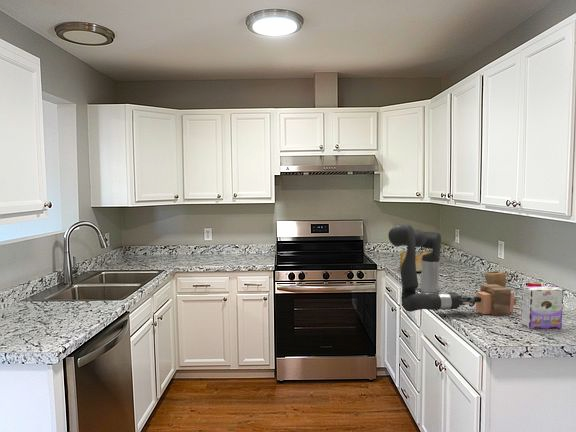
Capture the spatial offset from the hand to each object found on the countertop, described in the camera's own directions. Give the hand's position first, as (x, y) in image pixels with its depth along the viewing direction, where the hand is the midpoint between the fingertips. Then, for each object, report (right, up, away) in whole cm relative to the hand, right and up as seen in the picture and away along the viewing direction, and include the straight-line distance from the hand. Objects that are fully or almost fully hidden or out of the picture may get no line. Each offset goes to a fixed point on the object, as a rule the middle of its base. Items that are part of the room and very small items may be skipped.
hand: (479, 299), depth 181 cm
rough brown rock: (+1, -1, +93) cm, 93 cm away
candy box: (+18, -8, -16) cm, 25 cm away
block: (+8, -6, +2) cm, 10 cm away
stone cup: (+21, -5, +23) cm, 31 cm away
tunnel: (+8, -6, +2) cm, 10 cm away
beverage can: (+32, -6, +12) cm, 35 cm away
